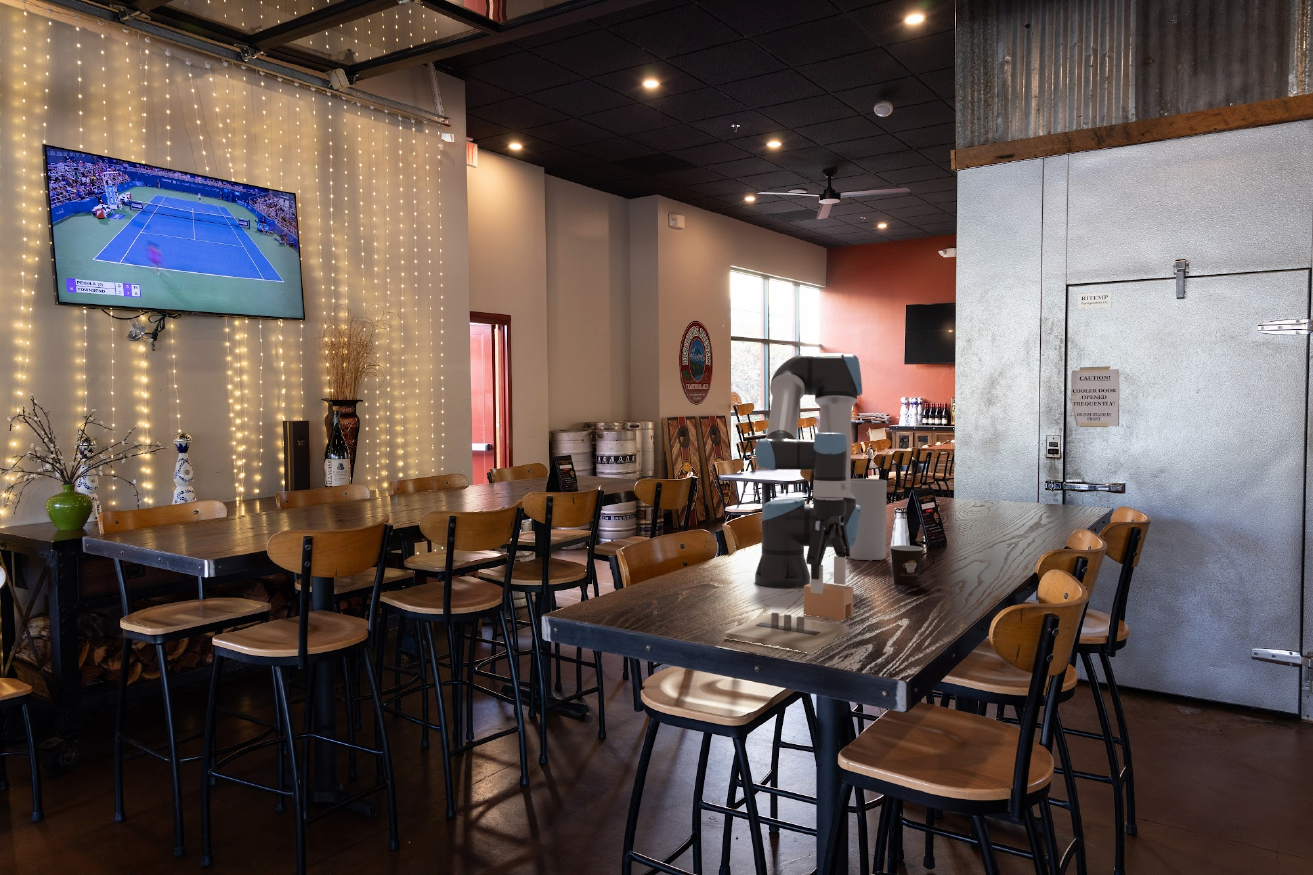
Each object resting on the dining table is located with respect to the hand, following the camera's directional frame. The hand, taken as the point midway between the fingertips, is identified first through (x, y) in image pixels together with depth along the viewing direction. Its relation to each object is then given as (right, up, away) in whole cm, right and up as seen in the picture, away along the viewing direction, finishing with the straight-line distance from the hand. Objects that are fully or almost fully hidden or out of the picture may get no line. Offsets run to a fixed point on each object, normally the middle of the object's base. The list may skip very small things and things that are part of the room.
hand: (828, 588), depth 207 cm
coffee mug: (+30, -5, +36) cm, 47 cm away
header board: (-12, -7, -17) cm, 23 cm away
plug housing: (0, -7, +1) cm, 7 cm away
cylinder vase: (+27, -3, +76) cm, 80 cm away
